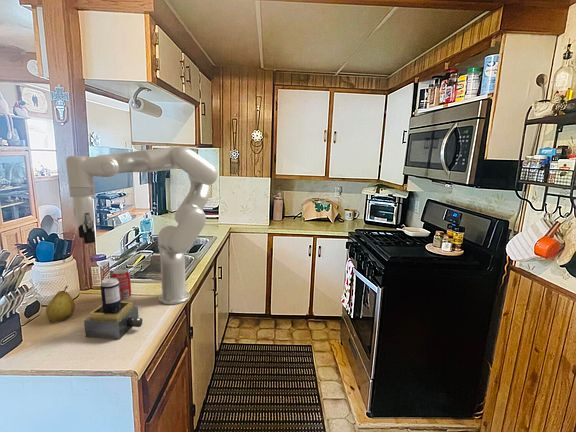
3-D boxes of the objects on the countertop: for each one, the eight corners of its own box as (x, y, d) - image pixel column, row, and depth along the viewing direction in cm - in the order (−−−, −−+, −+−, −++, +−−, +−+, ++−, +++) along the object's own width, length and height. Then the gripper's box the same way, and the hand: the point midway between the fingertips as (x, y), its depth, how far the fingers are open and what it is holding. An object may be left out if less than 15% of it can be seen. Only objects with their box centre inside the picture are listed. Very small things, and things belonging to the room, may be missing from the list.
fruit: (42, 325, 115) (38, 293, 113) (55, 313, 124) (51, 283, 122) (69, 323, 117) (66, 292, 115) (80, 311, 126) (77, 282, 124)
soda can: (121, 293, 143) (118, 267, 140) (135, 295, 141) (133, 269, 139) (109, 300, 136) (106, 273, 133) (124, 302, 134) (121, 274, 132)
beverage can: (124, 308, 116) (122, 277, 114) (116, 316, 111) (114, 283, 108) (108, 308, 116) (105, 277, 114) (99, 316, 110) (96, 283, 108)
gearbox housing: (107, 319, 120) (105, 299, 119) (149, 321, 119) (147, 301, 118) (85, 337, 109) (83, 315, 107) (131, 340, 108) (129, 317, 106)
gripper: (65, 190, 116) (70, 236, 119) (73, 195, 103) (78, 247, 106) (89, 189, 121) (94, 233, 124) (100, 194, 108) (104, 243, 111)
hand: (87, 240), depth 115 cm, fingers open, 9 cm apart
